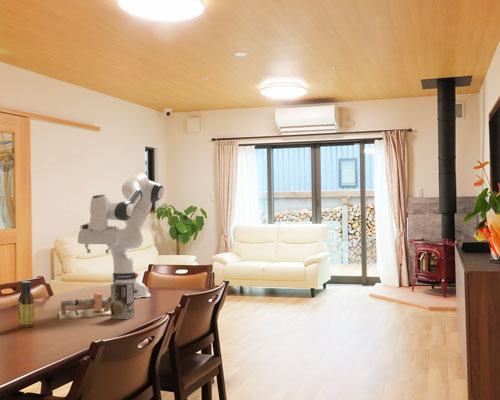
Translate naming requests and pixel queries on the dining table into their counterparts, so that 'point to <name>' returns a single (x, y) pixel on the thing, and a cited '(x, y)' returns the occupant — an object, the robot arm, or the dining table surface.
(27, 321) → the sauce bottle
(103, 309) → the pipe stand
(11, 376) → the dining table surface
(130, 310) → the coffee box
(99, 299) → the bridge block
